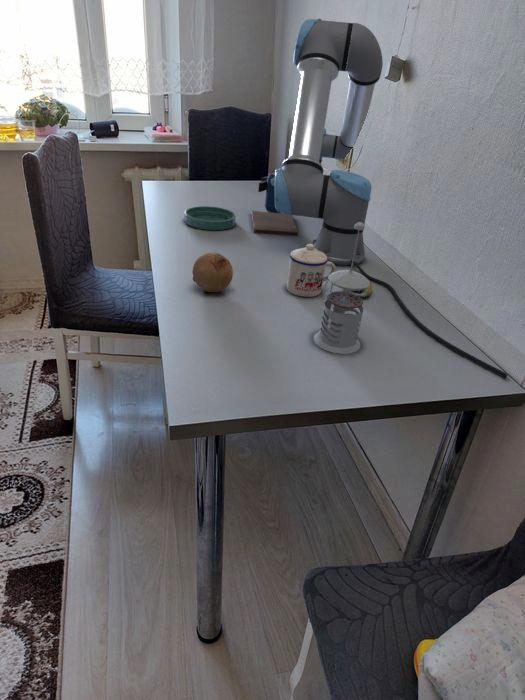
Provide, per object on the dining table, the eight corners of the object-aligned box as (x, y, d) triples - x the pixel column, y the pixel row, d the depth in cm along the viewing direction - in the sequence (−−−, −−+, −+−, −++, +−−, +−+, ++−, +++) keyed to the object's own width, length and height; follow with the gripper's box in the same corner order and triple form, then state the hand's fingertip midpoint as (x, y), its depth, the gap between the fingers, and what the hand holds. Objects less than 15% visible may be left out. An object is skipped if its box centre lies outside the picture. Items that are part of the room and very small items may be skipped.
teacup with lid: (292, 298, 119) (298, 252, 113) (280, 282, 126) (286, 238, 120) (338, 297, 122) (347, 251, 116) (324, 281, 129) (332, 238, 123)
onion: (224, 305, 119) (239, 277, 112) (185, 295, 116) (198, 265, 109) (225, 277, 125) (239, 248, 118) (188, 266, 122) (201, 236, 115)
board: (297, 236, 159) (298, 232, 158) (253, 232, 158) (254, 229, 157) (290, 217, 176) (291, 213, 175) (251, 214, 175) (251, 210, 174)
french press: (328, 357, 98) (352, 232, 85) (301, 328, 106) (318, 212, 93) (370, 350, 101) (398, 230, 88) (340, 323, 110) (362, 210, 97)
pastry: (348, 280, 131) (351, 267, 129) (373, 286, 129) (376, 272, 127) (342, 294, 123) (345, 280, 121) (369, 300, 122) (372, 286, 120)
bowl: (235, 232, 156) (235, 223, 155) (182, 228, 155) (183, 219, 153) (234, 217, 170) (235, 208, 168) (186, 213, 168) (186, 204, 167)
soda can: (278, 215, 161) (282, 177, 154) (260, 210, 164) (263, 172, 157) (289, 211, 166) (293, 174, 159) (271, 206, 169) (275, 169, 162)
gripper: (323, 194, 173) (297, 208, 155) (272, 183, 180) (242, 195, 162) (327, 172, 169) (301, 183, 151) (274, 161, 176) (243, 171, 158)
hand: (270, 190), depth 157 cm, fingers closed on soda can, 7 cm apart
